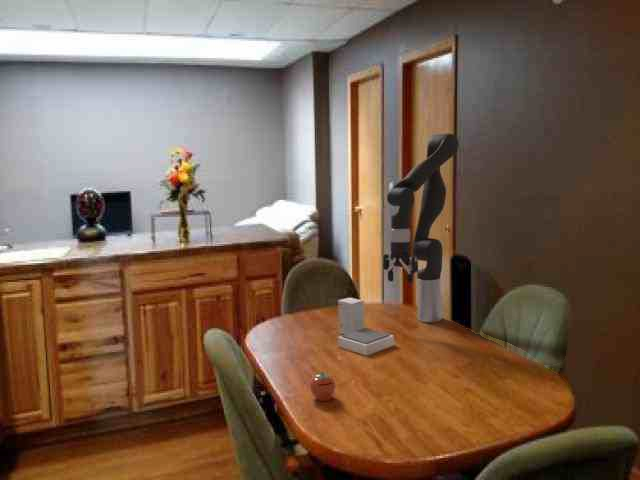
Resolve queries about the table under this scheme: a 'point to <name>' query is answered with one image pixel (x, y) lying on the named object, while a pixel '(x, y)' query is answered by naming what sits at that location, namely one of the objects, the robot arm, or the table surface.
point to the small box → (351, 315)
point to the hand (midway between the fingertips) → (400, 282)
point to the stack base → (365, 341)
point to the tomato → (322, 387)
